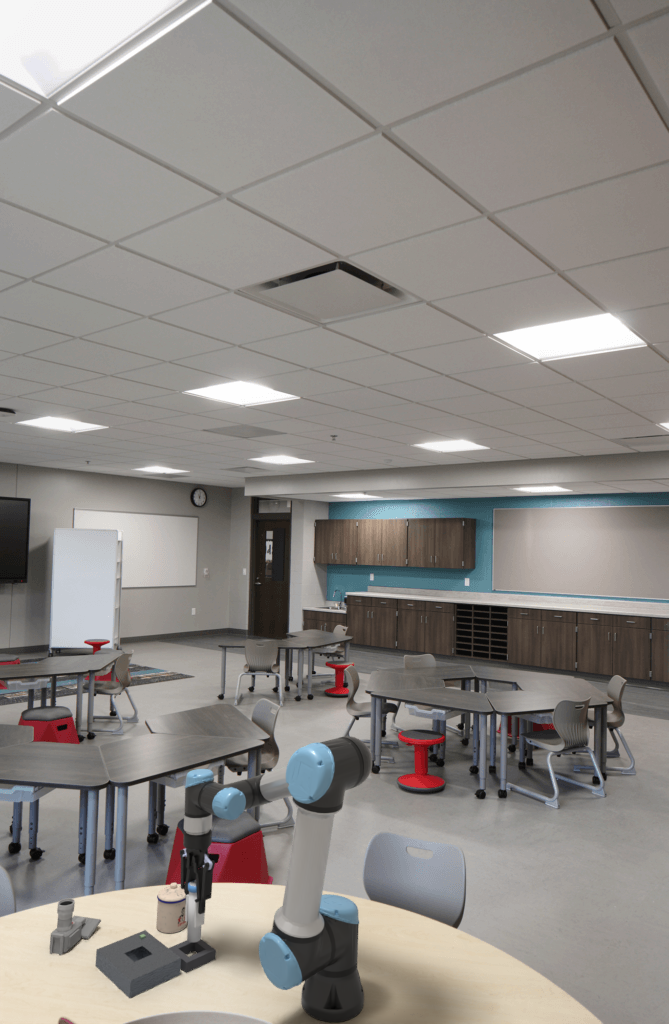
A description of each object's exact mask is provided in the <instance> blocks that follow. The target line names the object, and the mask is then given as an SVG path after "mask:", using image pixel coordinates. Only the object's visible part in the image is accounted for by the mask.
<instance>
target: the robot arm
mask: <svg viewBox="0 0 669 1024" xmlns="http://www.w3.org/2000/svg"><path fill="white" fill-rule="evenodd" d="M372 768H373V757H372V753H371V750H370V748H369V747H368V746H367V744H366V743H365V742H364V741H362V740H361V739H359V738H357V737H355V736H340V737H336V738H333V739H328V740H325V741H321V742H313V743H312V742H311V743H309V744H307V745H305V746H302V747H299V748H298V749H297V750H295V751H294V753H292V755H291V756H290V758H289V760H288V762H287V765H285V766H283V767H280V768H277V769H273V770H270V771H268V772H265V773H261V774H259V775H255V776H252V777H249V778H246V779H241V780H238V781H234V782H230V783H226V784H222V783H218V782H216V781H215V776H214V774H215V773H214V772H213V770H211V769H207V768H197V769H193V770H190V771H189V772H187V774H186V776H185V777H186V778H185V786H184V815H183V816H184V817H183V830H184V831H183V843H182V844H183V847H184V848H183V849H180V850H179V855H180V886H181V889H184V892H185V894H186V898H185V904H186V910H185V921H186V922H187V923H188V904H189V891H188V883H189V882H190V881H193V880H196V889H197V899H195V913H194V927H195V928H196V927H198V926H201V927H202V926H203V925H205V915H206V914H205V913H206V903H207V902H206V901H207V900H210V899H211V898H212V893H213V890H212V889H213V878H214V877H213V876H214V868H215V865H216V861H215V860H214V859H213V860H211V859H210V858H209V857H210V855H209V848H210V846H211V845H212V842H213V841H212V838H213V835H212V834H213V831H212V828H213V816H215V817H217V818H219V819H222V820H228V821H234V820H237V819H239V817H240V816H241V815H242V814H244V812H245V811H246V810H250V809H252V808H256V807H259V806H262V805H267V804H270V803H273V802H276V801H279V800H282V799H286V798H289V797H292V799H291V800H292V802H293V804H294V805H295V806H296V809H297V810H296V816H295V817H296V818H295V821H294V822H295V823H294V829H293V835H292V842H291V843H292V844H291V847H290V856H289V862H288V868H287V875H286V879H285V881H286V882H285V889H284V894H283V901H282V906H280V907H278V908H277V910H276V911H275V913H274V916H273V921H272V928H271V931H270V932H267V933H265V934H264V935H263V936H262V937H261V939H260V940H259V944H258V957H259V961H260V962H259V963H260V965H261V967H262V970H263V973H264V974H265V976H266V977H267V979H268V981H269V982H270V983H271V984H272V985H273V986H274V987H275V988H277V989H279V990H282V991H288V990H290V989H292V988H295V987H298V986H299V985H301V984H302V983H303V985H302V988H301V994H300V995H301V1000H300V1002H301V1006H302V1008H303V1010H304V1012H306V1014H308V1015H309V1016H311V1017H312V1018H314V1019H316V1020H319V1021H323V1022H328V1023H340V1022H345V1021H349V1020H351V1019H353V1018H355V1017H356V1016H357V1015H359V1014H360V1013H361V1012H362V1010H363V1009H364V1003H365V993H364V991H365V990H364V988H363V985H362V981H361V978H360V977H361V976H360V972H359V970H358V959H359V955H358V952H359V927H360V926H359V924H360V920H359V908H358V906H357V904H356V903H355V902H354V900H351V899H349V897H345V896H342V895H338V894H323V890H324V885H325V878H326V871H327V865H328V859H329V854H330V853H329V851H330V846H331V840H332V832H333V826H334V820H335V815H336V814H338V813H340V812H341V810H342V809H343V805H344V799H345V793H346V791H348V790H351V789H353V788H357V787H359V786H361V785H362V784H363V783H364V782H366V780H367V779H368V778H369V776H370V774H371V772H372Z"/></svg>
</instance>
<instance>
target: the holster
mask: <svg viewBox="0 0 669 1024" xmlns="http://www.w3.org/2000/svg"><path fill="white" fill-rule="evenodd" d="M168 948H169V949H170V950H171V951H173V952H174V953H175V954H177V955H178V956H179V957H180V958H181V969H180V970H181V971H183V972H184V973H186V974H188V973H190V972H192V971H194V970H196V969H198V968H200V967H202V966H205V965H207V964H209V963H211V962H214V961H216V957H217V955H216V954H217V952H216V951H217V949H215V947H213V946H212V945H210V944H209V943H207V942H206V941H205V940H204V939H202V938H201V940H200V941H198V942H193V943H192V942H188V941H187V939H186V940H184V941H182V942H179V943H178V944H175V945H172V946H170V947H168ZM194 952H195V953H194ZM191 953H194V954H193V955H190V956H189V954H191Z"/></svg>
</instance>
